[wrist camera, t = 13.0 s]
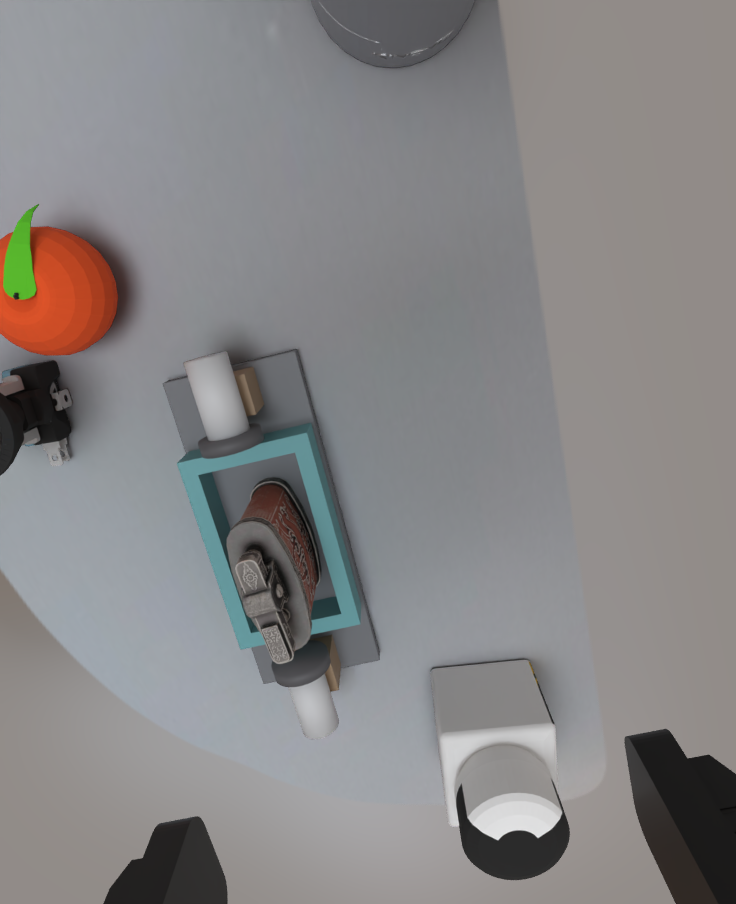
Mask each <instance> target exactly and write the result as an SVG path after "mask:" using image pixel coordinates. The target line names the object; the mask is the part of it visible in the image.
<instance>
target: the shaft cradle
mask: <svg viewBox="0 0 736 904" xmlns="http://www.w3.org/2000/svg"><path fill="white" fill-rule="evenodd" d="M183 364H184V367H185V370H186V373H187V376H186V377H182V378H178V379H173V380H169V381H167V382H165V383H163V386H164V389H165V392H166V395H167V398H168V401H169V404H170V407H171V410H172V413H173V416H174V419H175V422H176V425H177V428H178V431H179V434H180V437H181V440H182V443H183V446H184V449H185V452H186V455H185V456H184V457H183V458H182V459H181V460H180V461H179V462H178V463H177V465H178V468H179V471H180V474H181V477H182V480H183V483H184V485H185V488H186V491H187V494H188V497H189V500H190V503H191V506H192V509H193V512H194V515H195V518H196V521H197V523H198V526H199V529H200V532H201V535H202V538H203V541H204V544H205V547H206V550H207V553H208V556H209V559H210V562H211V564H212V567H213V570H214V573H215V576H216V579H217V582H218V585H219V588H220V591H221V594H222V597H223V600H224V602H225V605H226V608H227V611H228V614H229V617H230V620H231V623H232V626H233V629H234V632H235V635H236V638H237V640H238V643H239V646H240V649H246V648H252V651H253V654H254V657H255V660H256V663H257V666H258V669H259V672H260V675H261V678H262V681H263V684H266V683H271V682H277V683H278V684H280V685H282V686H285V687H289V691H290V694H291V697H292V700H293V703H294V706H295V709H296V712H297V715H298V718H299V721H300V724H301V728H302V731H303V734H304V735H305V737H307V738H309V739H321V738H324V737H327V736H328V735H330V734H331V733H333V732H334V731H335V730H336V728H337V727H338V724H339V719H338V715H337V712H336V709H335V705H334V702H333V699H332V696H331V691H336V690H339V680H340V669H341V668H344V667H349V666H354V665H359V664H363V663H368V662H373V661H378V660H380V654H379V648H378V645H377V641H376V637H375V634H374V630H373V626H372V623H371V619H370V615H369V612H368V608H367V604H366V601H365V597H364V593H363V590H362V586H361V582H360V579H359V575H358V572H357V568H356V564H355V561H354V557H353V553H352V550H351V546H350V542H349V539H348V535H347V531H346V528H345V524H344V520H343V517H342V513H341V509H340V506H339V502H338V498H337V495H336V491H335V487H334V484H333V480H332V477H331V473H330V469H329V466H328V462H327V458H326V455H325V451H324V447H323V444H322V440H321V436H320V433H319V429H318V425H317V422H316V418H315V414H314V411H313V407H312V403H311V400H310V396H309V392H308V389H307V385H306V381H305V378H304V374H303V371H302V367H301V363H300V360H299V356H298V352H297V349H295V350H291V351H287V352H283V353H279V354H275V355H271V356H267V357H263V358H259V359H255V360H251V361H247V362H242V363H238V364H234V365H231V363H230V360H229V357H228V353H227V351H225V352H219V353H215V354H210V355H207V356H203V357H199V358H196V359H193V360H190V361H187V362H184V363H183ZM269 477H277V478H281V479H283V480H285V481H287V482H288V483H289V485H290V486H291V487H292V489H293V491H294V492H295V494H296V496H297V497H298V499H299V501H300V502H301V504H302V506H303V508H304V510H305V512H306V514H307V517H308V519H309V521H310V523H311V525H312V528H313V532H314V535H315V539H316V542H317V545H318V549H319V556H320V562H321V569H322V571H321V579H320V582H319V584H318V586H317V587H316V589H315V595H314V600H313V606H312V611H311V621H312V630H311V636H310V638H309V640H308V642H307V643H306V644H305V645H304V646H303V647H302V648H300V649H298V650H295V652H294V656H293V659H292V660H291V661H289V662H287V663H283V664H277V663H275V662H274V661H273V660H272V658H271V656H270V653H269V651H268V648H267V646H266V644H265V641H264V639H263V636H262V635H261V633H260V632H259V630H258V629H257V627H256V626H255V624H254V623H253V621H252V619H251V618H249V617H248V616H247V615H246V612H245V610H244V607H243V604H242V600H241V598H240V595H239V592H238V589H237V586H236V583H235V580H234V577H233V574H232V571H231V566H230V561H229V555H228V550H227V545H226V544H227V537H228V535H229V533H230V531H231V529H232V527H233V526H234V525H235V524H236V523H237V522H238V521H240V519H241V518H242V516H243V514H244V512H245V510H246V508H247V506H248V504H249V503H250V495H251V493H252V491H253V489H254V487H255V485H256V484H257V483H258V482H259V481H261V480H263V479H265V478H269Z"/></svg>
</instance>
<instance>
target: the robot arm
mask: <svg viewBox="0 0 736 904" xmlns="http://www.w3.org/2000/svg"><path fill="white" fill-rule="evenodd" d="M474 1H475V0H311V3H312V5H313V7H314V10H315V12H316V14H317V17H318V19H319V21H320V23H321V24H322V26H323V27H324V29H325V30H326V32H327V33H328V35H329V36H330V38H331V39H332V40H333V41H334V42H336V43H337V44H338V45H339V46H340V47H341V48H342V49H343V50H344V51H345V52H347V53H348V54H350V55H352V56H353V57H355V58H357V59H358V60H360V61H363V62H366V63H369V64H372V65H375V66H380V67H392V68H396V67H403V66H409V65H413V64H416V63H418V62H421V61H423V60H426V59H428V58H430V57H432V56H433V55H434V54H436V53H437V52H439V51H440V50H442V49H443V48H444V47H445V46H446V45H447V44H448V43H449V42H450V41H451V40H452V39H453V38H454V37H455V36H456V35H457V34H458V32H459V31H460V29H461V28H462V26H463V24H464V23H465V21H466V20H467V18H468V16H469V14H470V11H471V9H472V6H473V4H474ZM625 748H626V755H627V761H628V767H629V774H630V780H631V786H632V792H633V799H634V804H635V809H636V813H637V816H638V819H639V823H640V826H641V828H642V831H643V834H644V836H645V839H646V841H647V843H648V846H649V848H650V850H651V852H652V854H653V856H654V858H655V860H656V862H657V865H658V867H659V869H660V871H661V873H662V875H663V877H664V880H665V882H666V884H667V886H668V888H669V890H670V892H671V894H672V897H673V899H674V901H675V903H676V904H736V774H735V773H733V772H732V771H731V770H729V769H728V768H727V767H725V766H724V765H722V764H721V763H720V762H718V761H717V760H715V759H714V758H713V757H712V756H710V755H704V756H699V757H694V758H688V759H687V757H686V756H685V754H684V752H683V751H682V749H681V748H680V746H679V745H678V743H677V741H676V740H675V738H674V737H673V735H672V734H671V732H670V731H669V730H667V729H663V730H657V731H652V732H647V733H642V734H636V735H631V736H626V737H625ZM104 904H227V885H226V880H225V876H224V873H223V871H222V868H221V865H220V863H219V860H218V858H217V855H216V853H215V850H214V848H213V845H212V842H211V840H210V837H209V835H208V832H207V830H206V827H205V825H204V822H203V821H202V819H201V818H200V817H191V818H187V819H180V820H175V821H171V822H165V823H160V824H158V825H157V826H156V828H155V829H154V831H153V833H152V836H151V838H150V841H149V844H148V846H147V849H146V851H145V854H144V857H143V858H142V859H136V860H132V861H131V862H130V863H129V864H128V866H127V867H126V868H125V870H124V871H123V872H122V873H121V875H120V876H119V877H118V879H117V880H116V881H115V883H114V884H113V885H112V886H111V888H110V889H109V892H108V894H107V896H106V899H105V901H104Z"/></svg>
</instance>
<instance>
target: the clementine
mask: <svg viewBox="0 0 736 904" xmlns="http://www.w3.org/2000/svg"><path fill="white" fill-rule="evenodd" d="M38 205H39V204H38ZM38 205H36V206H34V207H33V208H31V209H29V210H28V211H26V213H25V214H24V215H23V216H22V218H21V219H20V220H19V221H18V223H17V225H16V228H15V230H14V232H12V233H9V234H7V235H6V236H5V237H3V238H2V239H0V334H2V335H3V336H4V337H5V338H6V339H8V340H9V341H10V342H12V343H13V344H15V345H17V346H19V347H21V348H23V349H25V350H27V351H29V352H33V353H37V354H42V355H70V354H74V353H77V352H80V351H83V350H85V349H87V348H88V347H90V346H91V345H92V344H94V343H95V342H97V341H98V340H100V339H101V338H102V337H103V336H104V335H105V333H106V332H107V331H108V330H109V328H110V327H111V325H112V322H113V320H114V317H115V315H116V311H117V302H118V294H117V287H116V281H115V279H114V276H113V274H112V271H111V269H110V267H109V265H108V264H107V262H106V261H105V259H104V258H103V257H102V255H101V254H100V252H98V251H97V250H96V249H95V248H94V247H93V246H92V245H90V244H89V243H88V242H87V241H85V240H83V239H82V238H80V237H78V236H76V235H74V234H72V233H70V232H67V231H65V230H61V229H56V228H52V227H31V220H32V215H33V212H34V211H35V209H36V208H37V207H38Z"/></svg>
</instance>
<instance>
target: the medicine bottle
mask: <svg viewBox="0 0 736 904" xmlns="http://www.w3.org/2000/svg"><path fill="white" fill-rule="evenodd" d="M430 677H431V686H432V695H433V704H434V713H435V723H436V732H437V741H438V750H439V757H440V765H441V773H442V780H443V788H444V796H445V803H446V811H447V819H448V822H449V824H450V825H451V826H453V827H456V826H459V828H460V834H461V841H462V846H463V849H464V852H465V854H466V855H467V857H468V859H469V860H470V861H471V862H472V863H473V864H474V865H475V866H476V867H478V868H479V869H481V870H482V871H484V872H485V873H487V874H489V875H491V876H494V877H497V878H501V879H506V880H522V879H527V878H532V877H535V876H538V875H540V874H542V873H544V872H546V871H547V870H549V869H550V868H551V867H553V866H554V865H555V864H556V863H557V862H558V861H559V859H560V858H561V856H562V855H563V853H564V851H565V850H566V848H567V845H568V842H569V835H570V831H569V825H568V822H567V819H566V816H565V813H564V810H563V807H562V804H561V801H560V798H559V791H558V769H557V748H556V727H555V725H554V722H553V720H552V717H551V714H550V712H549V709H548V707H547V704H546V702H545V699H544V697H543V694H542V691H541V689H540V686H539V684H538V681H537V679H536V676H535V674H534V671H533V668H532V666H531V663H530V662H529V661H528V660H516V661H505V662H495V663H485V664H475V665H464V666H454V667H444V668H435V669H432V670H431V673H430Z"/></svg>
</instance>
